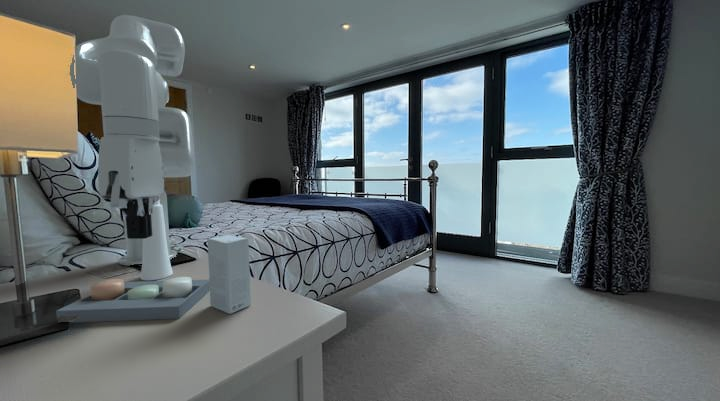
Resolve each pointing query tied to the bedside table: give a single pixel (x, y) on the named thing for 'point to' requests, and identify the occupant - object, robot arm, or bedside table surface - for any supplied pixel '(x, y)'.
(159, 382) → the bedside table surface
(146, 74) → the robot arm
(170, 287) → the ivory button
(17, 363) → the bedside table surface
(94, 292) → the terracotta button
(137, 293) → the sage button
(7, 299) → the bedside table surface
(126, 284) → the button board
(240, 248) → the skincare box
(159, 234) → the cosmetic bottle
